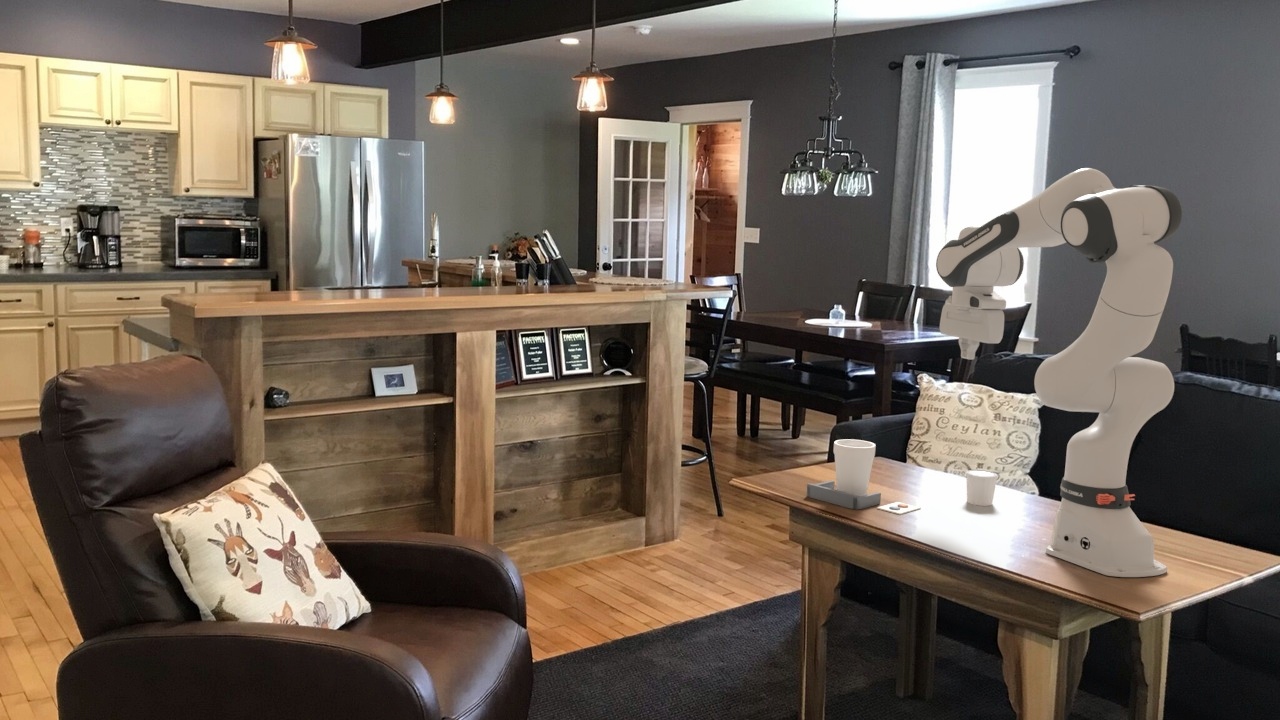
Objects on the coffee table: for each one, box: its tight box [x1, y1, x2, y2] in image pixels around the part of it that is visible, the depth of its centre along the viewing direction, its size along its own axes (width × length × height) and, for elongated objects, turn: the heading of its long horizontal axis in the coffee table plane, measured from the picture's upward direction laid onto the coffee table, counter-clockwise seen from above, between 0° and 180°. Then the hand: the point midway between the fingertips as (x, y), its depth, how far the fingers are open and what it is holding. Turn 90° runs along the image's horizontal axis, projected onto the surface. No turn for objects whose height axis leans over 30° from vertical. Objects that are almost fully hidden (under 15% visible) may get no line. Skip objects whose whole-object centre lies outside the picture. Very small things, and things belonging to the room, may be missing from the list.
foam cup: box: [833, 438, 877, 496], centre depth 243 cm, size 10×9×13 cm
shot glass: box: [966, 469, 998, 507], centre depth 244 cm, size 7×7×7 cm
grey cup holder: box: [806, 480, 882, 511], centre depth 242 cm, size 9×14×3 cm, turn 43°
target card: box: [876, 501, 921, 516], centre depth 237 cm, size 8×6×1 cm
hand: (967, 358), depth 242 cm, fingers closed
